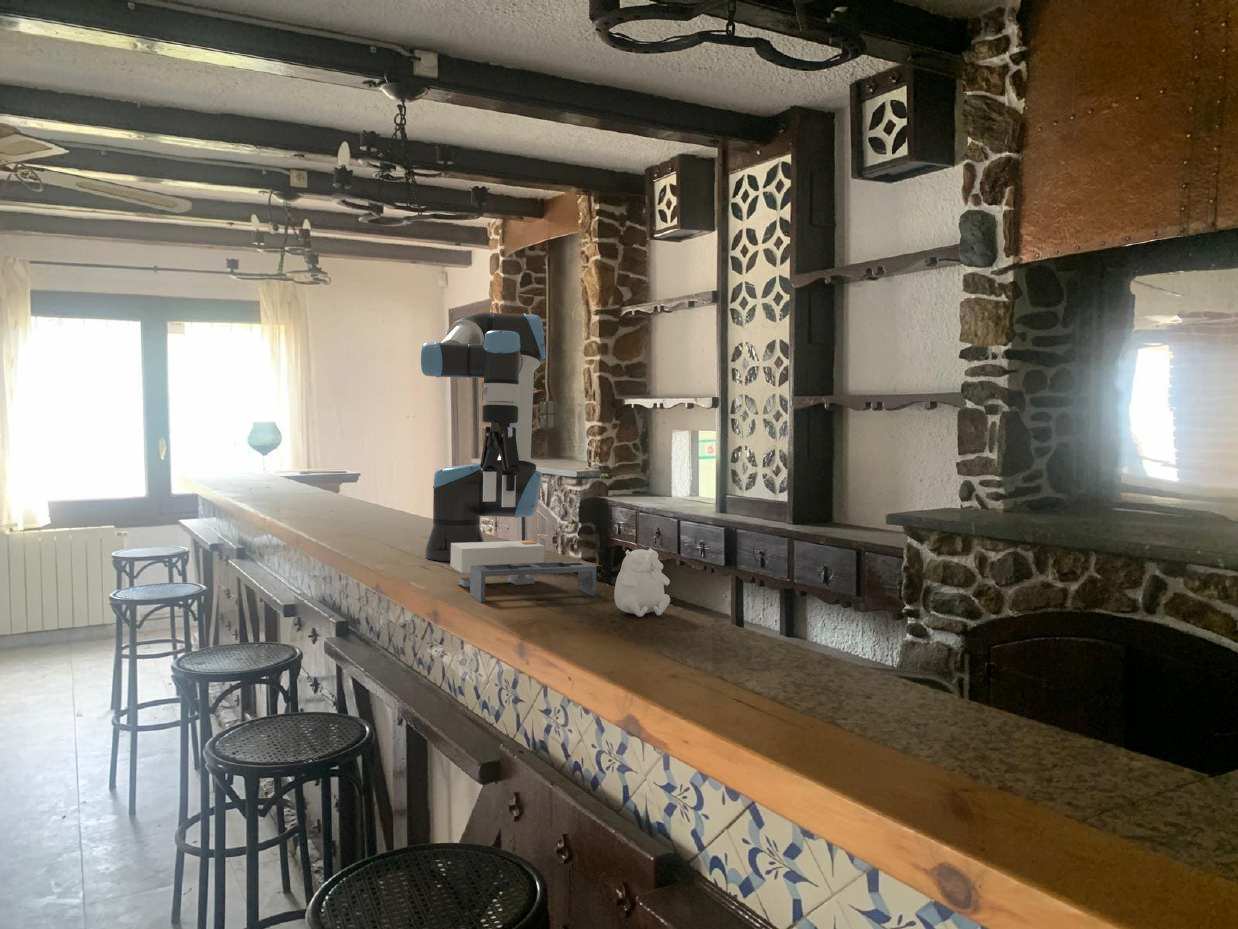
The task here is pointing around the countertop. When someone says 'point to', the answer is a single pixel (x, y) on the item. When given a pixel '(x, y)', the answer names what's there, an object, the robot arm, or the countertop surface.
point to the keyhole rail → (583, 568)
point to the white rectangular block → (495, 557)
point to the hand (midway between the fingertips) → (498, 504)
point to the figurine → (641, 584)
